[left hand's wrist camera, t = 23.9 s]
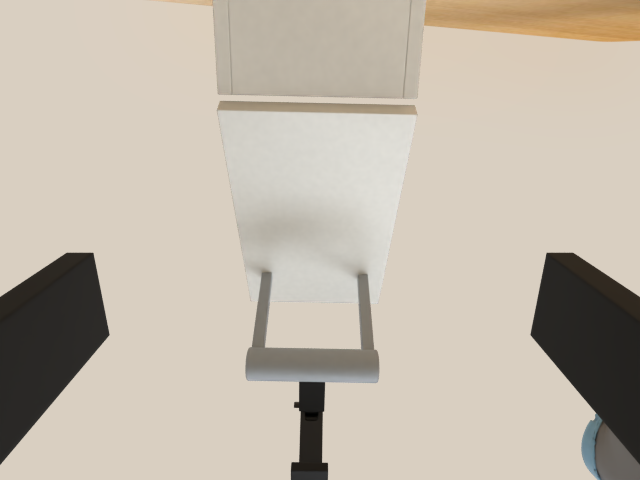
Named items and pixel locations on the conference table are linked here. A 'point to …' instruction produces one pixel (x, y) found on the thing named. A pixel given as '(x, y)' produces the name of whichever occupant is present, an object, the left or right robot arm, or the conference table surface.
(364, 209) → the lid
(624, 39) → the conference table surface
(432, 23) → the conference table surface
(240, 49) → the chest
